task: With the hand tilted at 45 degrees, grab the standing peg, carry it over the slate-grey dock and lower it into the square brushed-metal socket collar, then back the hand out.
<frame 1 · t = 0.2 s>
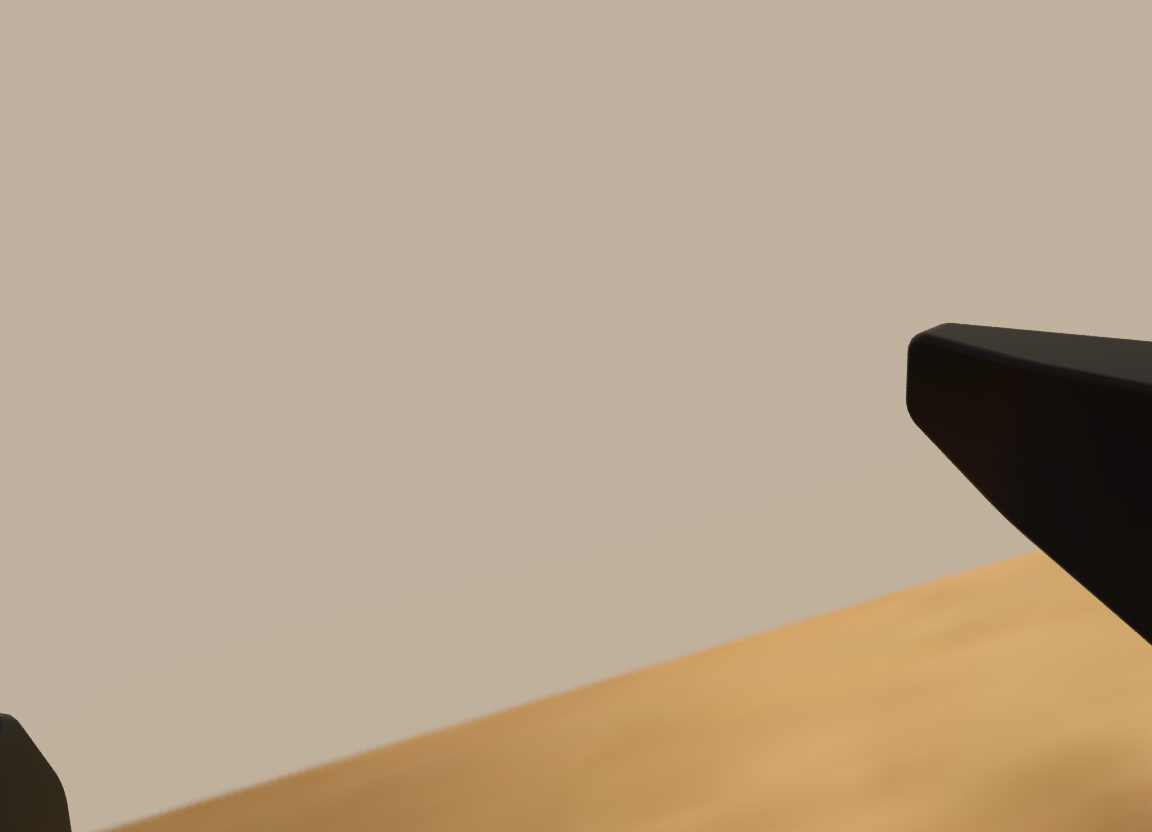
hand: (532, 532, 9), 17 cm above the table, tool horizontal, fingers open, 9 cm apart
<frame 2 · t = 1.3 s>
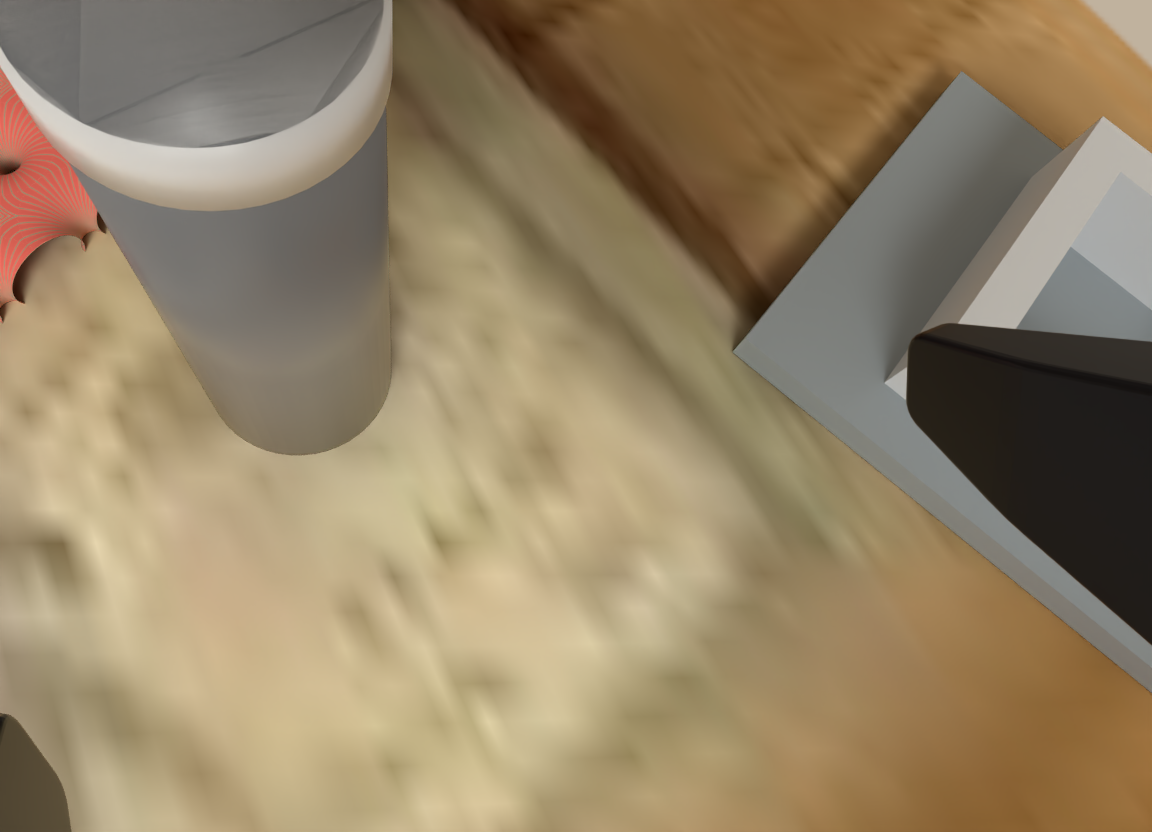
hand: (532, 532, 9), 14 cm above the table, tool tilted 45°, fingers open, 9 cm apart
peg: (300, 369, 23), on the table
dock: (1063, 384, 27), on the table
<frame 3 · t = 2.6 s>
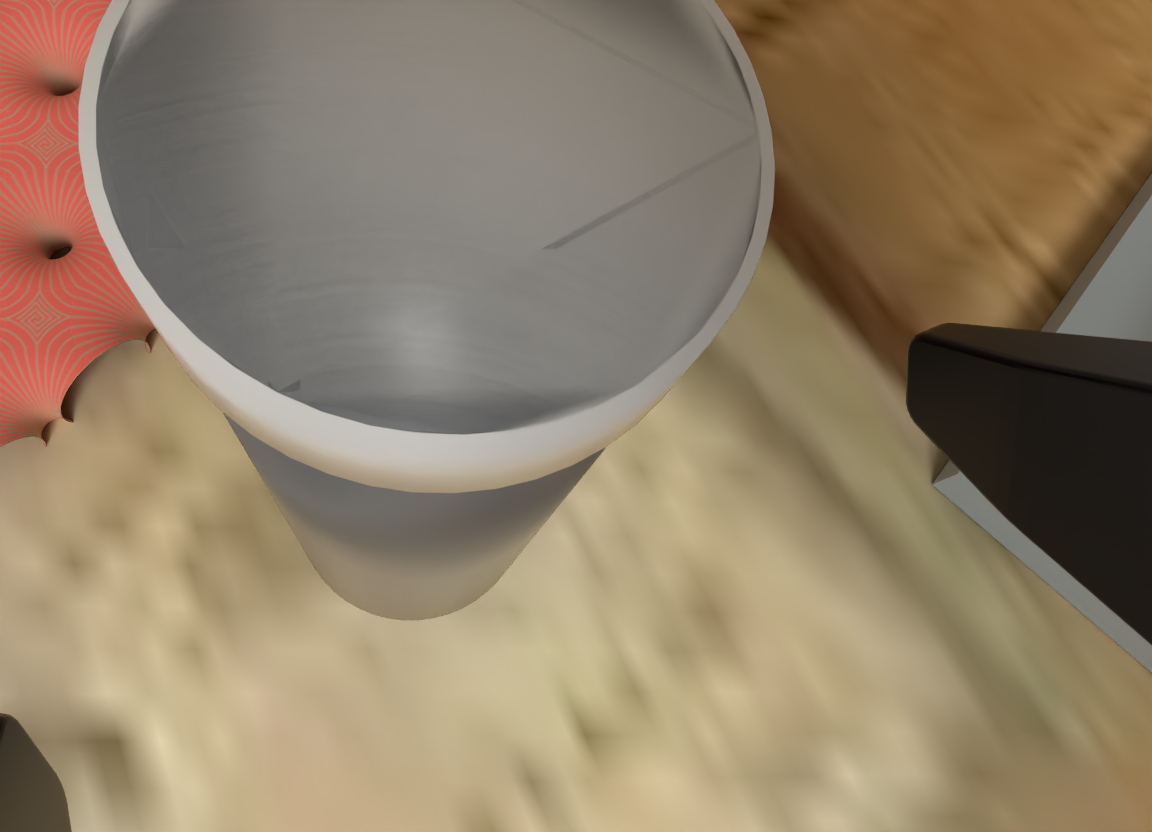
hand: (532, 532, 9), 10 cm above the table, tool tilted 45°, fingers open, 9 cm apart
peg: (414, 506, 18), on the table
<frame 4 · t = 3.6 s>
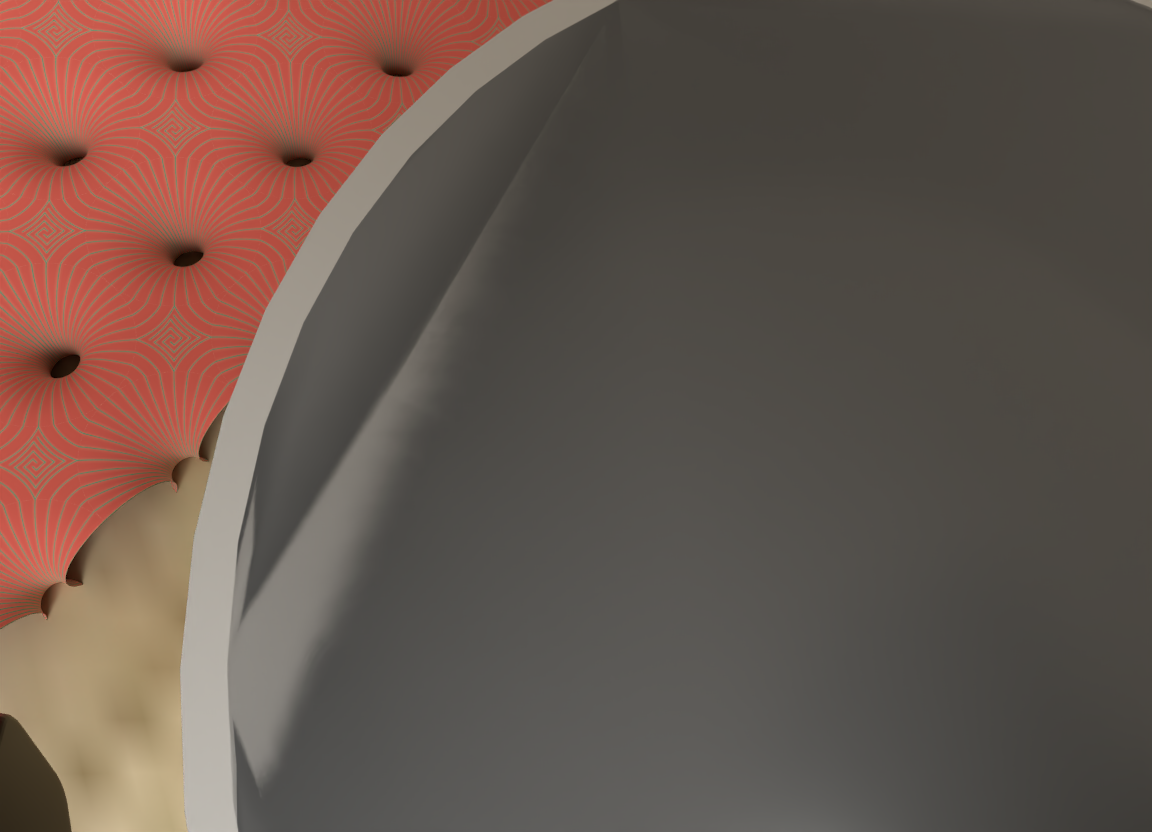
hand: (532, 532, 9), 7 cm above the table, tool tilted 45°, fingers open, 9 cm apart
peg: (508, 682, 15), on the table
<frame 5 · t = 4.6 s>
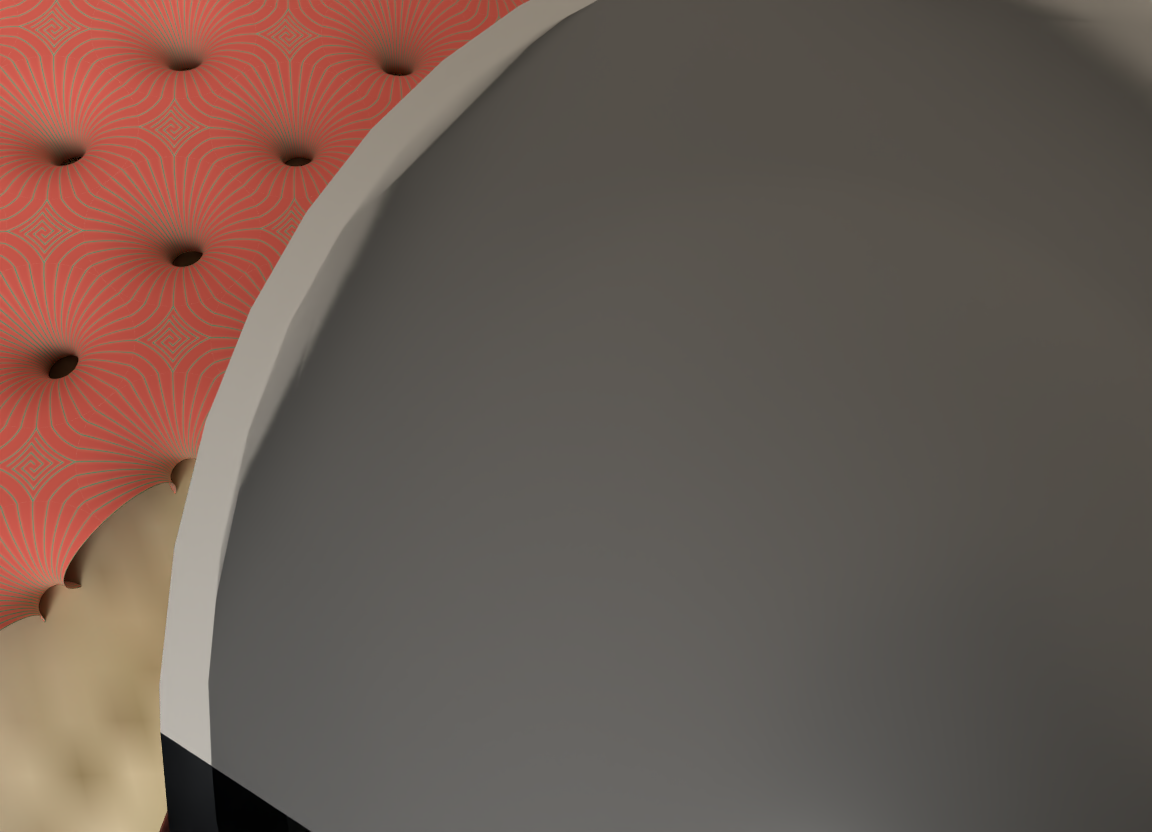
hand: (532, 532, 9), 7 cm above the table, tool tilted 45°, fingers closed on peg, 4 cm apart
peg: (508, 682, 15), on the table, touching gripper
when the fingers open (8 cm above the table, at t = 8.8 s): peg stays where it is, resting on dock.
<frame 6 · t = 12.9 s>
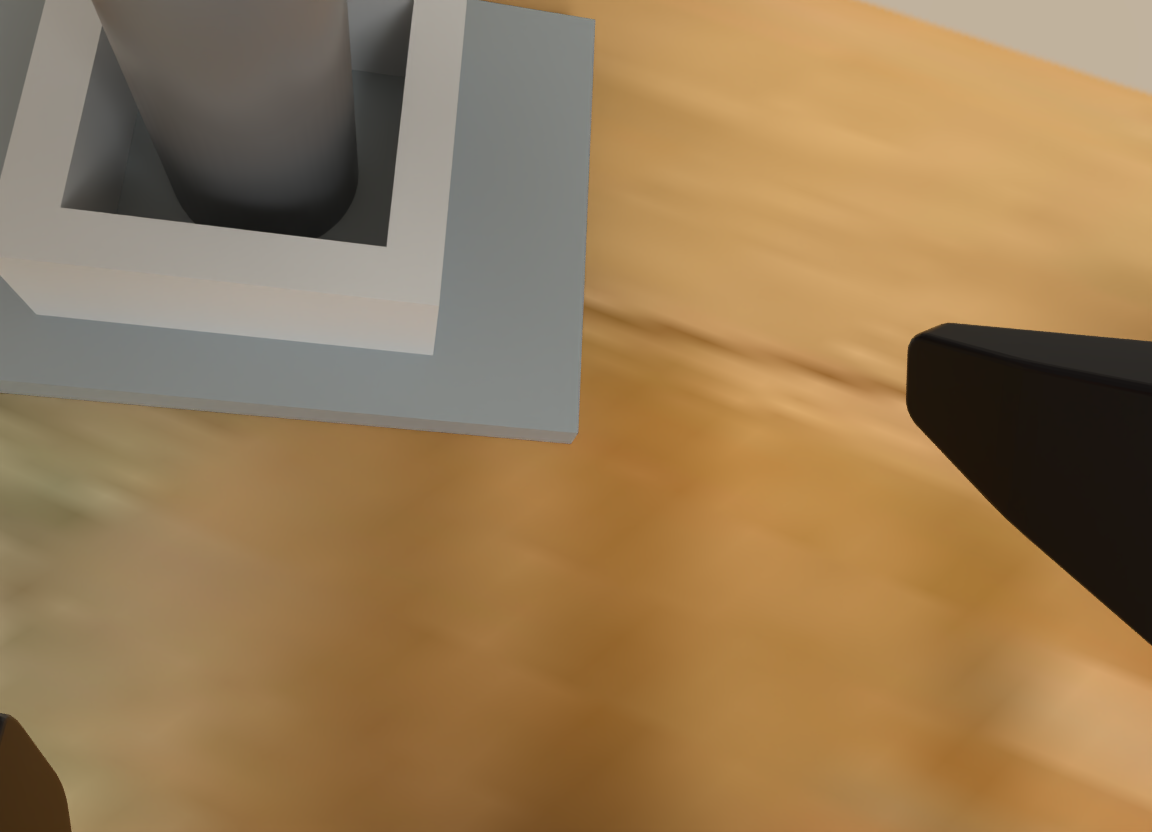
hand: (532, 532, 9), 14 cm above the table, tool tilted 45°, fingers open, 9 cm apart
peg: (266, 169, 23), point 1 cm above the table, touching dock
dock: (272, 189, 24), on the table
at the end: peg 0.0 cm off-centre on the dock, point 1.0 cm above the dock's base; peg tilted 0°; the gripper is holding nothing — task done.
